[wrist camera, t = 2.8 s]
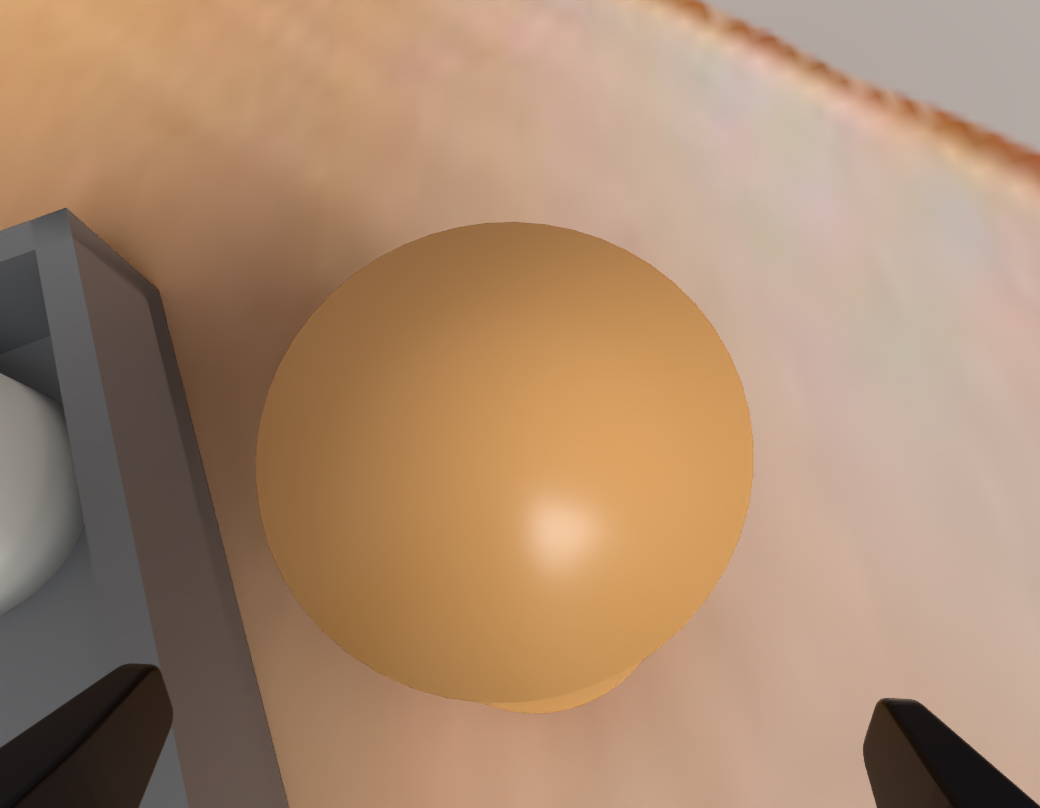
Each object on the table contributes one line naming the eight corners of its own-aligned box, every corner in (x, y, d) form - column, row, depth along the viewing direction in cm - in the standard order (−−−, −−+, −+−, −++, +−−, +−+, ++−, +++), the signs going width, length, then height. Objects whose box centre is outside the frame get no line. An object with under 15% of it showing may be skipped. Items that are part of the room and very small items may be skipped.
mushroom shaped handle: (713, 603, 18) (1045, 524, 6) (500, 763, 17) (367, 1073, 5) (564, 406, 20) (581, 48, 8) (367, 537, 19) (38, 354, 7)
